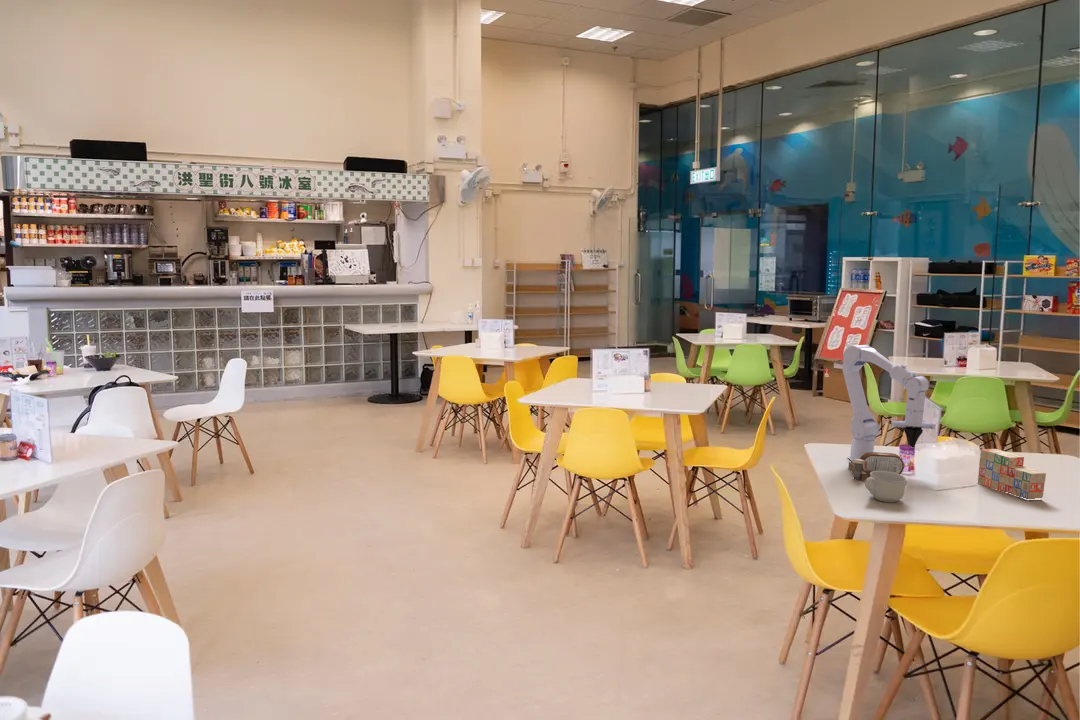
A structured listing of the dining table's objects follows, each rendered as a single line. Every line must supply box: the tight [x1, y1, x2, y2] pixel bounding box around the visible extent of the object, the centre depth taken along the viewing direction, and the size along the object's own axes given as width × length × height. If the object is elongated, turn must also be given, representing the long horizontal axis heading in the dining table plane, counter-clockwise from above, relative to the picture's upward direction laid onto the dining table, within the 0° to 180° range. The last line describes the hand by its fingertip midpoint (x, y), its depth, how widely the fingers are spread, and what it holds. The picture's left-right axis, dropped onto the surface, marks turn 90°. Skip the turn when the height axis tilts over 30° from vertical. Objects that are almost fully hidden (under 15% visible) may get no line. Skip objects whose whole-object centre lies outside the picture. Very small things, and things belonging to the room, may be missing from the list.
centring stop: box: [847, 459, 872, 482], centre depth 286 cm, size 16×8×7 cm, turn 175°
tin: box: [860, 451, 905, 475], centre depth 285 cm, size 15×3×8 cm, turn 85°
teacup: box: [864, 471, 908, 503], centre depth 256 cm, size 14×11×8 cm
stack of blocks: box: [977, 448, 1047, 499], centre depth 271 cm, size 21×6×12 cm, turn 14°
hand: (911, 447), depth 289 cm, fingers closed
